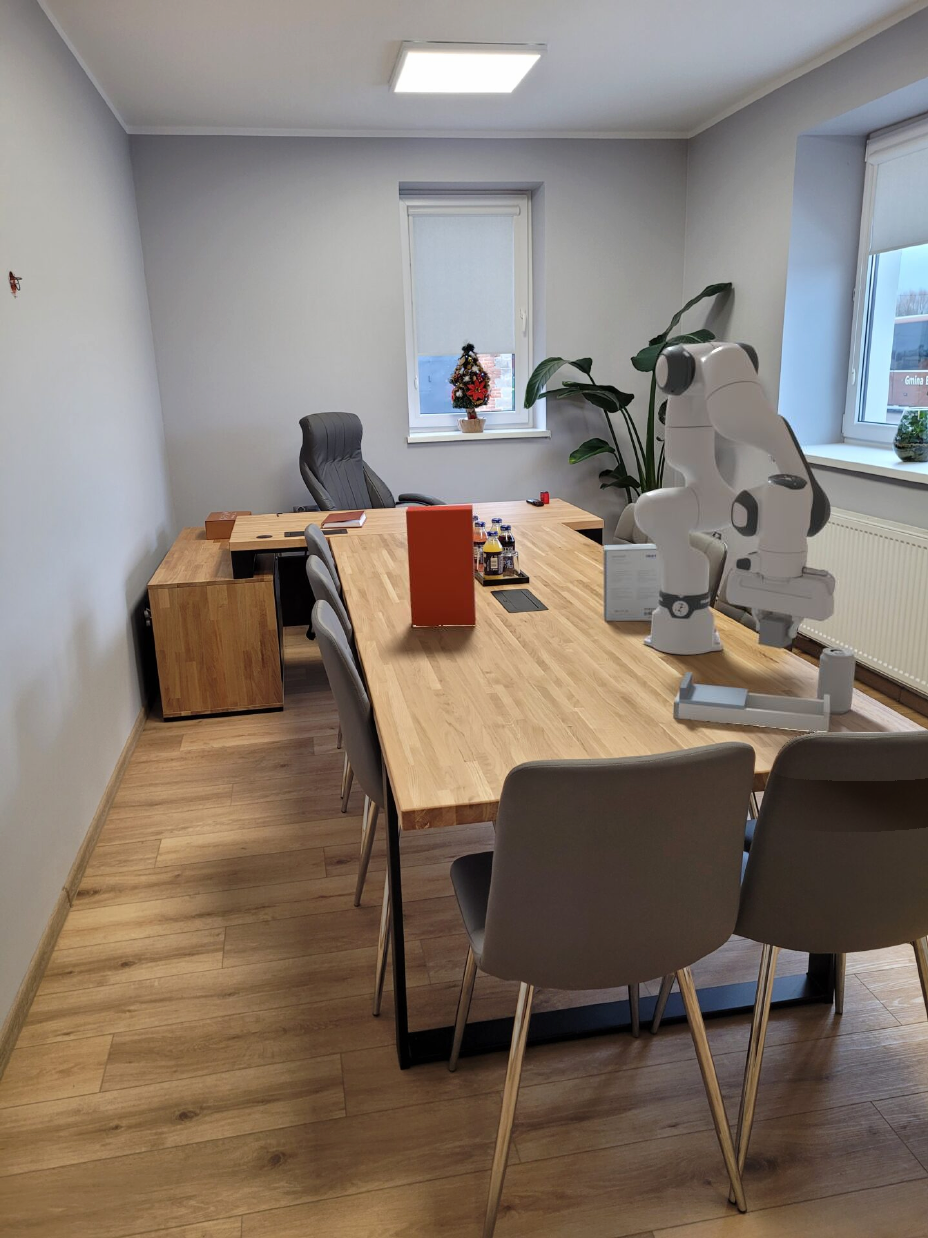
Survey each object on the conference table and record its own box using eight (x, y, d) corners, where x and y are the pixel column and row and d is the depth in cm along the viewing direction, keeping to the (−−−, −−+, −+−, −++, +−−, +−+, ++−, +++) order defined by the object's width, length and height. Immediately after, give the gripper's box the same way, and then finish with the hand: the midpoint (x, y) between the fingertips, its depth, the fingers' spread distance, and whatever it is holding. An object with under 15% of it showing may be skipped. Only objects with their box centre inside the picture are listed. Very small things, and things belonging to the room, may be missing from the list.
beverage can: (842, 702, 177) (847, 645, 174) (856, 714, 171) (862, 655, 168) (810, 703, 177) (815, 646, 174) (824, 715, 171) (829, 656, 168)
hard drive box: (658, 613, 245) (660, 543, 240) (662, 621, 238) (664, 548, 233) (602, 614, 247) (603, 543, 242) (603, 621, 240) (604, 549, 234)
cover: (686, 686, 179) (686, 671, 179) (747, 692, 175) (748, 677, 174) (679, 702, 171) (679, 687, 170) (743, 709, 167) (744, 693, 166)
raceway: (680, 701, 181) (681, 680, 179) (827, 716, 170) (829, 694, 169) (673, 717, 172) (673, 696, 171) (827, 734, 162) (829, 712, 161)
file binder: (475, 626, 239) (471, 508, 230) (411, 628, 239) (405, 510, 231) (475, 618, 246) (472, 504, 238) (414, 620, 247) (408, 506, 239)
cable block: (769, 638, 172) (771, 613, 171) (791, 643, 169) (793, 618, 168) (758, 643, 169) (760, 618, 168) (780, 648, 166) (782, 623, 165)
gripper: (843, 568, 160) (836, 641, 164) (740, 553, 174) (736, 620, 178) (828, 575, 155) (821, 649, 159) (724, 558, 170) (720, 627, 174)
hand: (775, 633), depth 169 cm, fingers closed on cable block, 4 cm apart
